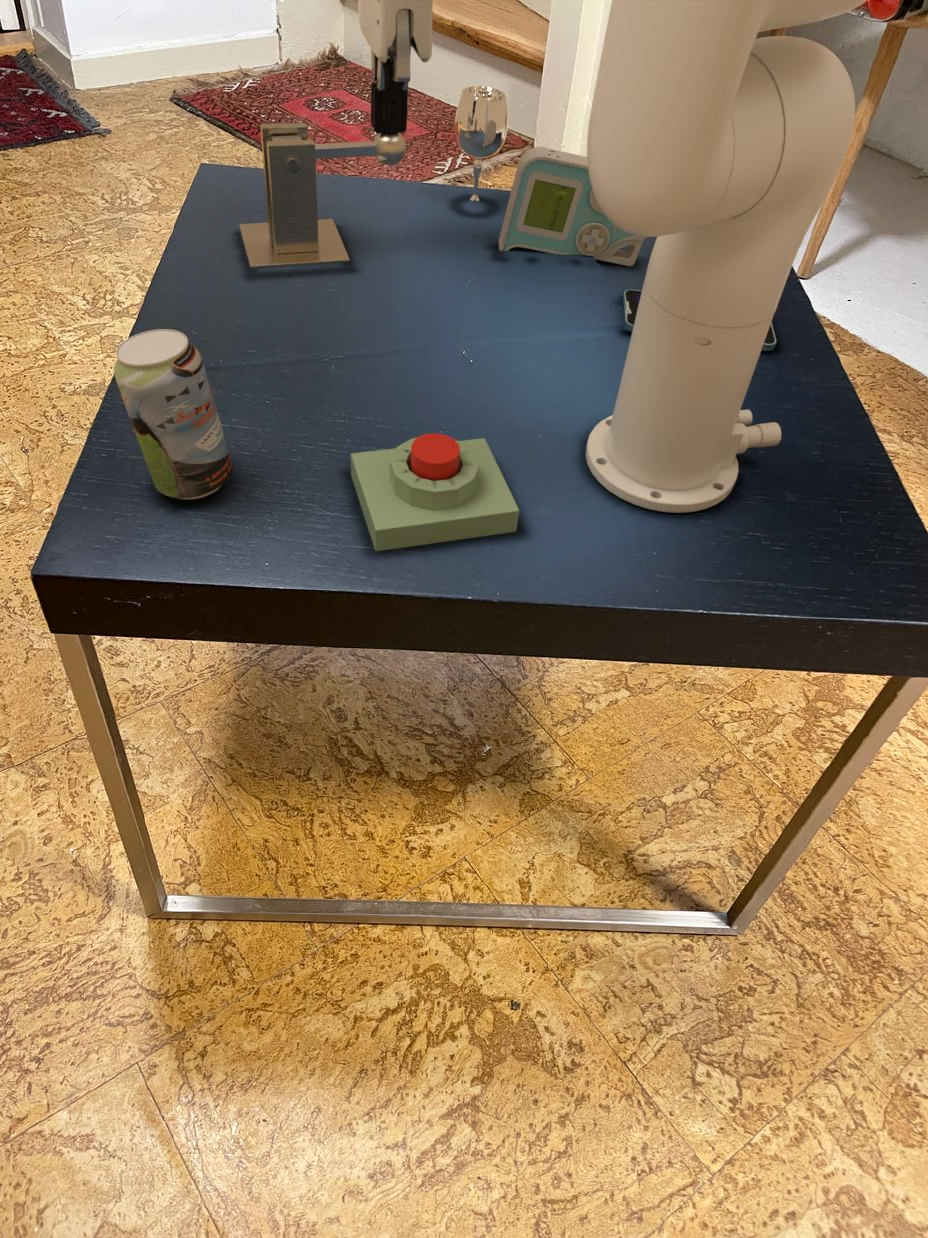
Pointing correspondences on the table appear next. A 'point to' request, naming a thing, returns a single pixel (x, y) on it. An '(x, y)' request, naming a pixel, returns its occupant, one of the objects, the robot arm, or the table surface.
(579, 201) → the handheld gaming console
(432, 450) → the button
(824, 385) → the table surface
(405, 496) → the button box
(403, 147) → the tap lever
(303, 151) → the lever stand
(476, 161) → the wineglass
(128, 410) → the beverage can
